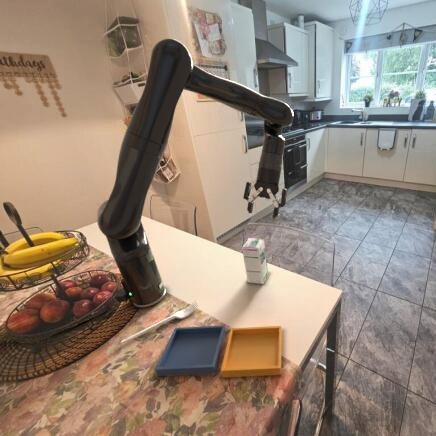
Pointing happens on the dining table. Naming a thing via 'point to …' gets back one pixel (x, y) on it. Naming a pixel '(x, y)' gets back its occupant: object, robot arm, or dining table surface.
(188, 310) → the fork
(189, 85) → the robot arm
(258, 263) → the syrup box
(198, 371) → the blue tray
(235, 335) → the honey tray
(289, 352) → the dining table surface
